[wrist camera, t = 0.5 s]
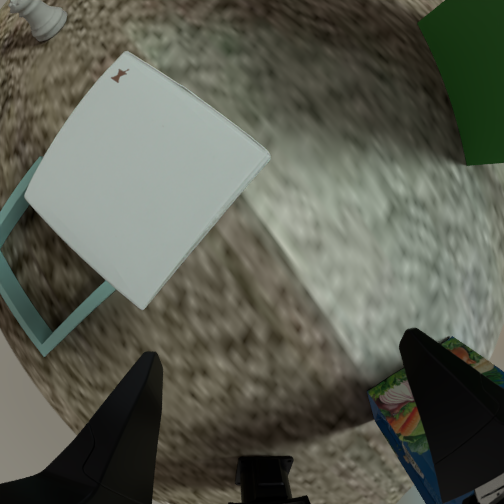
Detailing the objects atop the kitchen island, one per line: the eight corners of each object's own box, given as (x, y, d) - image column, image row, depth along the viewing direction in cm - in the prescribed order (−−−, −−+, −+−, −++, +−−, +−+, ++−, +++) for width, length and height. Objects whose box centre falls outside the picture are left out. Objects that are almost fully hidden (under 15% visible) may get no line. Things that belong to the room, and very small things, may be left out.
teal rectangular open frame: (133, 275, 22) (122, 283, 19) (56, 346, 22) (44, 357, 20) (55, 159, 19) (39, 156, 17) (-7, 247, 20) (-22, 251, 18)
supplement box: (122, 196, 21) (16, 194, 8) (180, 123, 20) (126, 42, 7) (190, 254, 22) (140, 318, 9) (252, 181, 21) (278, 150, 9)
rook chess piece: (76, 12, 16) (44, -24, 8) (53, 43, 17) (15, 12, 9) (52, 12, 16) (21, -18, 8) (31, 42, 16) (-6, 16, 8)
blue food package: (452, 370, 26) (570, 478, 2) (374, 420, 26) (467, 575, 2) (450, 333, 25) (598, 444, 1) (365, 388, 25) (484, 570, 1)
